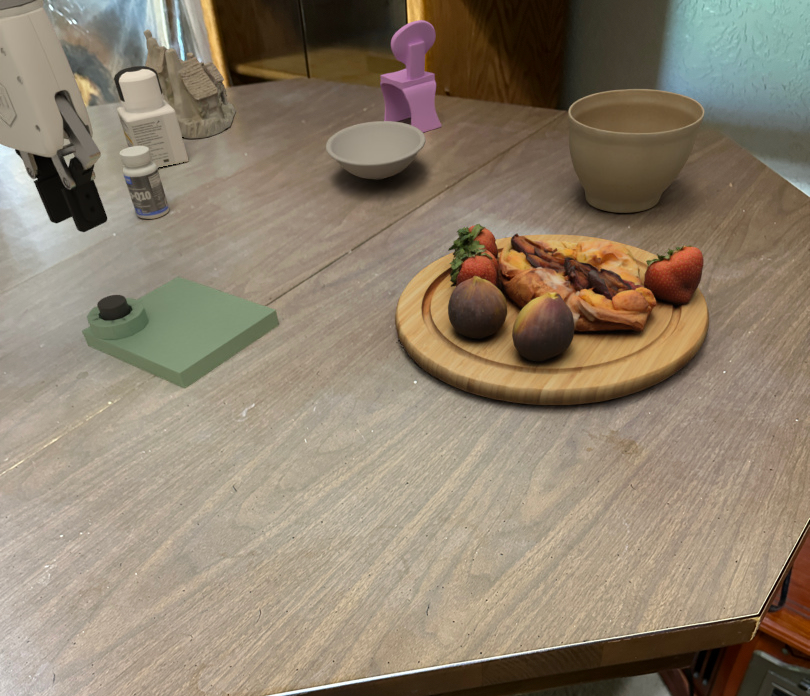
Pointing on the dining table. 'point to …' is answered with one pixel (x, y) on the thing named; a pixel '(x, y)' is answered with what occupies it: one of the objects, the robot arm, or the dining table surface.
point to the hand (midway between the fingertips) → (79, 220)
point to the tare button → (113, 307)
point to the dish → (376, 148)
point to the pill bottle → (143, 182)
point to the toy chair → (411, 78)
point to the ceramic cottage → (191, 91)
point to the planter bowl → (631, 145)
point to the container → (149, 116)
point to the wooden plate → (553, 317)
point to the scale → (181, 330)
